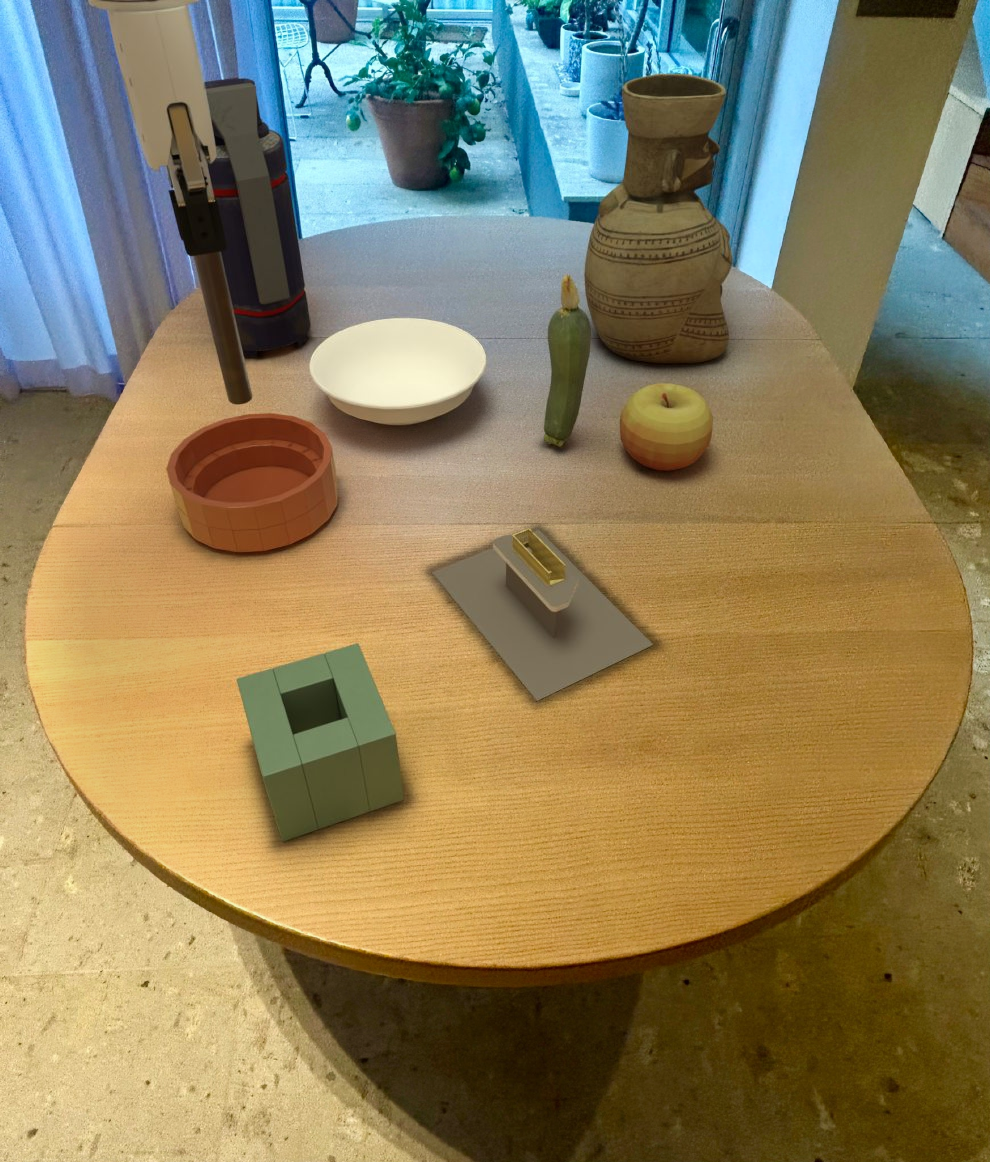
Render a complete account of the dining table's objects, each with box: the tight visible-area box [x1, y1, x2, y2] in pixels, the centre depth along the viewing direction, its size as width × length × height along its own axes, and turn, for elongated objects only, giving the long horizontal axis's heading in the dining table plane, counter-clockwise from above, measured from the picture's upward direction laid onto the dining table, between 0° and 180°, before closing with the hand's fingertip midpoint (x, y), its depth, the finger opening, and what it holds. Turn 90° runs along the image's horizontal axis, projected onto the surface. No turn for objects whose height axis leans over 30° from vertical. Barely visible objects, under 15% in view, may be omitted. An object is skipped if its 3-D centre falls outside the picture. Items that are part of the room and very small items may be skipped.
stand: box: [236, 642, 404, 842], centre depth 64 cm, size 9×9×8 cm
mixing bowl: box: [165, 412, 339, 553], centre depth 88 cm, size 16×16×6 cm
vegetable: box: [543, 274, 592, 448], centre depth 91 cm, size 4×4×20 cm
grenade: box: [204, 77, 311, 358], centre depth 105 cm, size 14×12×30 cm
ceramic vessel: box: [583, 73, 733, 364], centre depth 106 cm, size 19×21×30 cm
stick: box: [178, 172, 253, 406], centre depth 75 cm, size 2×2×20 cm
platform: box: [431, 528, 654, 702], centre depth 77 cm, size 12×18×7 cm, turn 31°
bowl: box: [308, 317, 488, 426], centre depth 101 cm, size 20×20×6 cm
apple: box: [619, 382, 714, 471], centre depth 94 cm, size 10×10×8 cm
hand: (203, 243), depth 72 cm, fingers closed on stick, 2 cm apart
